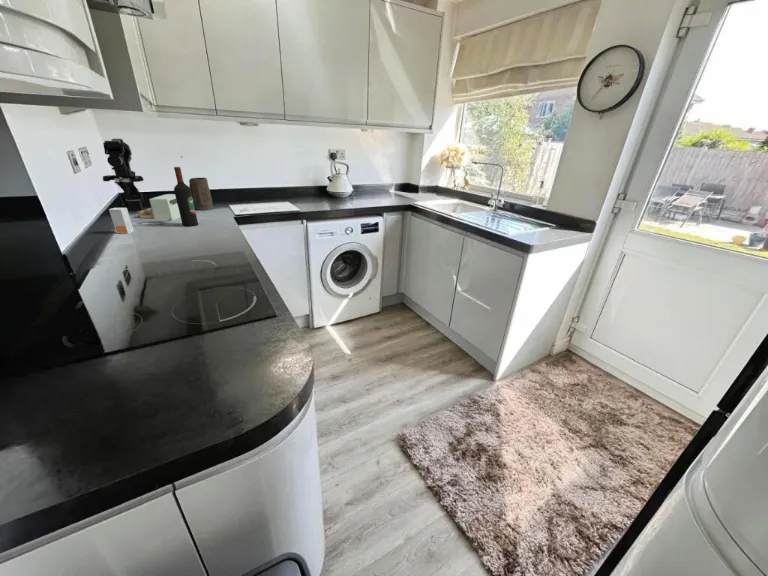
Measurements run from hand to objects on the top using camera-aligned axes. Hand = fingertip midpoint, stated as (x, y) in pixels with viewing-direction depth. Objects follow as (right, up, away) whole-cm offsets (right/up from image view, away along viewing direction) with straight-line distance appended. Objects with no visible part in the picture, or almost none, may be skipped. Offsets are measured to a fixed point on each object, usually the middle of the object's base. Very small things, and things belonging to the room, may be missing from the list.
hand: (127, 194), depth 186 cm
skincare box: (+18, -26, -24) cm, 40 cm away
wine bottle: (+41, -20, -9) cm, 47 cm away
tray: (+15, -12, +6) cm, 20 cm away
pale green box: (+21, -12, +7) cm, 25 cm away
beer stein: (+25, -1, +30) cm, 40 cm away
